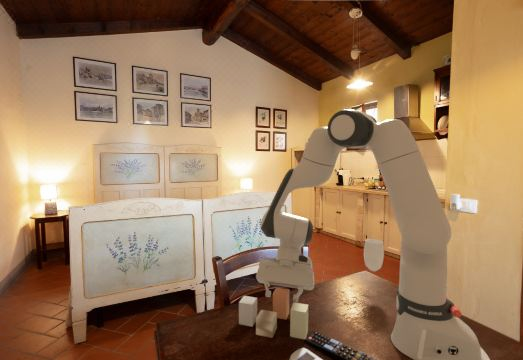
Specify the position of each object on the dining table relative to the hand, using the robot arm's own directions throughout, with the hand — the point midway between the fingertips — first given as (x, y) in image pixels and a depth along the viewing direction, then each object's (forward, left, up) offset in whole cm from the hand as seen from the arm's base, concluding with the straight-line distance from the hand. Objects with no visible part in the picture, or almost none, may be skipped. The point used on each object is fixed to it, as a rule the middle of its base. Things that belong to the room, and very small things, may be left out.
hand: (281, 298), depth 90 cm
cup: (-30, -25, -5) cm, 39 cm away
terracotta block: (0, 0, -5) cm, 5 cm away
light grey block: (+9, +7, -5) cm, 13 cm away
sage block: (-8, +8, -5) cm, 12 cm away
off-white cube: (+2, +10, -5) cm, 12 cm away
